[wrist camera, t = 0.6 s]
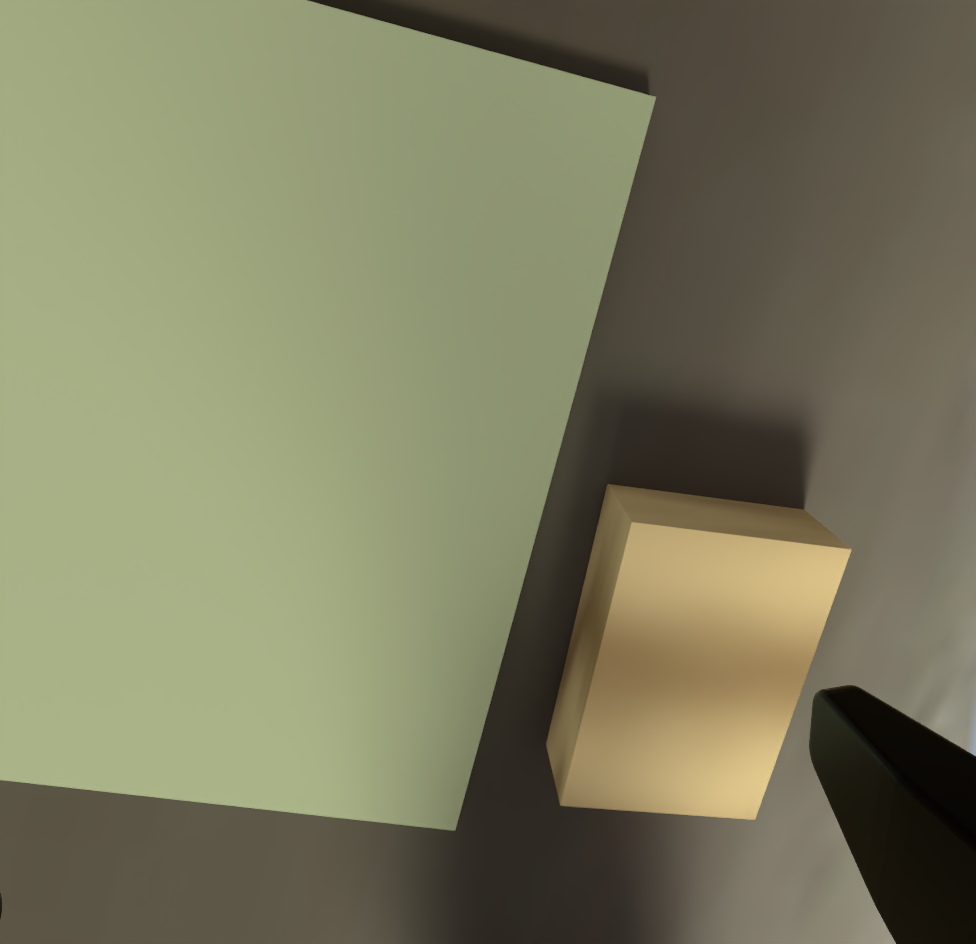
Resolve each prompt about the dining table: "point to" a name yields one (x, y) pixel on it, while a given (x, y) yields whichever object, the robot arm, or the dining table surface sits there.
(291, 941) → the dining table surface
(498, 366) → the rubber mat
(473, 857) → the dining table surface
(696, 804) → the brass block
